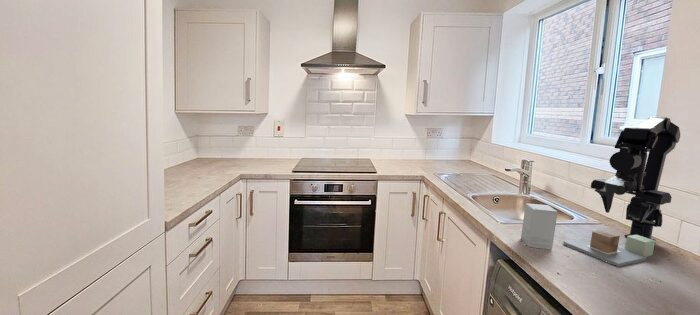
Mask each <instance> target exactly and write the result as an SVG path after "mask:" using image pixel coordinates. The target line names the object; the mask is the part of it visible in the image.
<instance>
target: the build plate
mask: <svg viewBox="0 0 700 315" xmlns="http://www.w3.org/2000/svg"><path fill="white" fill-rule="evenodd" d="M591 237H592V236H589V237H582V238H576V239H571V240H563V243H562V245H564V246H566V245H567V246H566V247H568V246H569V248H571V249H573V248H574V249H573V250H576V249H577V250H576V251H578V250H579V252H581V253H583V252H584V253H583V254H585V253H587V254H586V255H588V254H589V255H588V256H590V255H592V256H591V257H593V256H594V257H593V258H595V257H597V258H599V259H598V260H600V259H602V260H604V261H603V262H605V261H607V262H609V263H608V264H610V263H611V264H610V265H612V264H613V265H612V266H614V265H616V266H615V267H617V266H618V267H617V268H619V266H620V267H624V266H627V265H632V264H636V263H640V262H644V261H647V258H648V257H645V256H642V255H640V254H637V253H634V252H631V251H629V250H626V249H625V248H622V247H620V246H618V249H617V251H615V252H610V253H606V252H603V251H601V250H598V249H595V248H593V247H590V243H591ZM597 258H596V259H597ZM602 260H601V261H602ZM607 262H606V263H607ZM623 265H624V266H623Z"/></svg>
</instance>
